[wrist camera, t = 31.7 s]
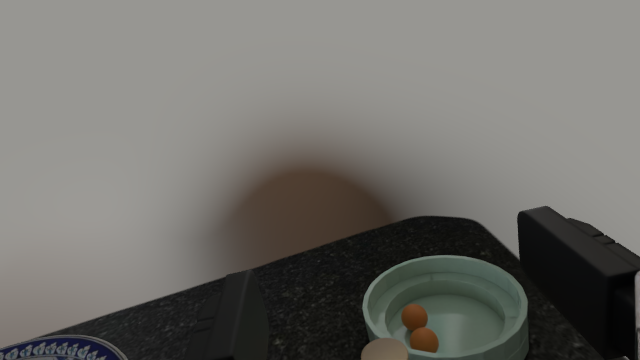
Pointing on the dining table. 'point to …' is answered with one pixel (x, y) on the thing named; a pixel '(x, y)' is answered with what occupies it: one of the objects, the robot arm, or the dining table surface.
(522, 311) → the pale green shallow dish
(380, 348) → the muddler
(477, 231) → the dining table surface
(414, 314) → the bead
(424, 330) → the bead
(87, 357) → the ceramic bowl
